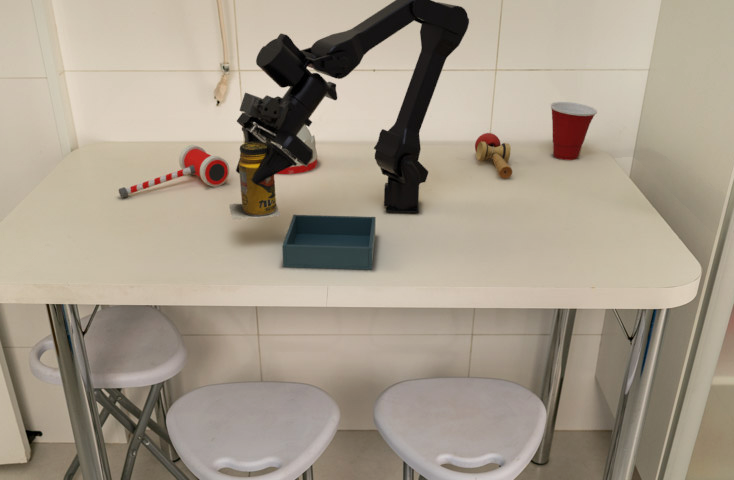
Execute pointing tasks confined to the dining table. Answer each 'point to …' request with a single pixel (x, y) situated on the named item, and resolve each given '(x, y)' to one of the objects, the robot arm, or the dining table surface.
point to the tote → (330, 242)
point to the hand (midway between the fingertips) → (245, 177)
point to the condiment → (254, 185)
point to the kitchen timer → (299, 168)
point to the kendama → (494, 153)
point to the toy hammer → (190, 170)
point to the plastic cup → (570, 128)
